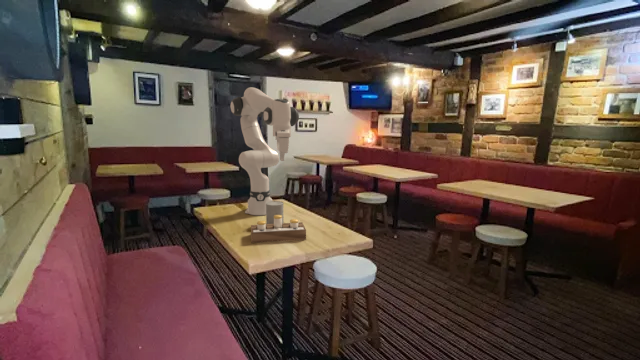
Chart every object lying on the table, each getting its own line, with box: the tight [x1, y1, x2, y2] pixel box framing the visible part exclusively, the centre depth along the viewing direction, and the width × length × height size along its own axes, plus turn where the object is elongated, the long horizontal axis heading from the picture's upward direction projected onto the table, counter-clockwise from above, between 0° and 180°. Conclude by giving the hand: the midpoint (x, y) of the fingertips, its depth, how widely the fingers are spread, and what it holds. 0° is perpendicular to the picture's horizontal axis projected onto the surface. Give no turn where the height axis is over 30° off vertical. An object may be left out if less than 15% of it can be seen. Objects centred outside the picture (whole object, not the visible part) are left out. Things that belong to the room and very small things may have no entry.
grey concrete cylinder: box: [265, 200, 284, 224], centre depth 184 cm, size 10×10×12 cm
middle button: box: [274, 215, 282, 229], centre depth 164 cm, size 4×4×8 cm
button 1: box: [256, 220, 266, 230], centre depth 163 cm, size 4×4×8 cm
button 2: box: [289, 218, 299, 228], centre depth 166 cm, size 4×4×8 cm
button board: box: [250, 222, 307, 244], centre depth 165 cm, size 12×26×5 cm, turn 102°
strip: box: [253, 227, 304, 233], centre depth 160 cm, size 3×24×1 cm, turn 102°
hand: (282, 160), depth 167 cm, fingers closed
